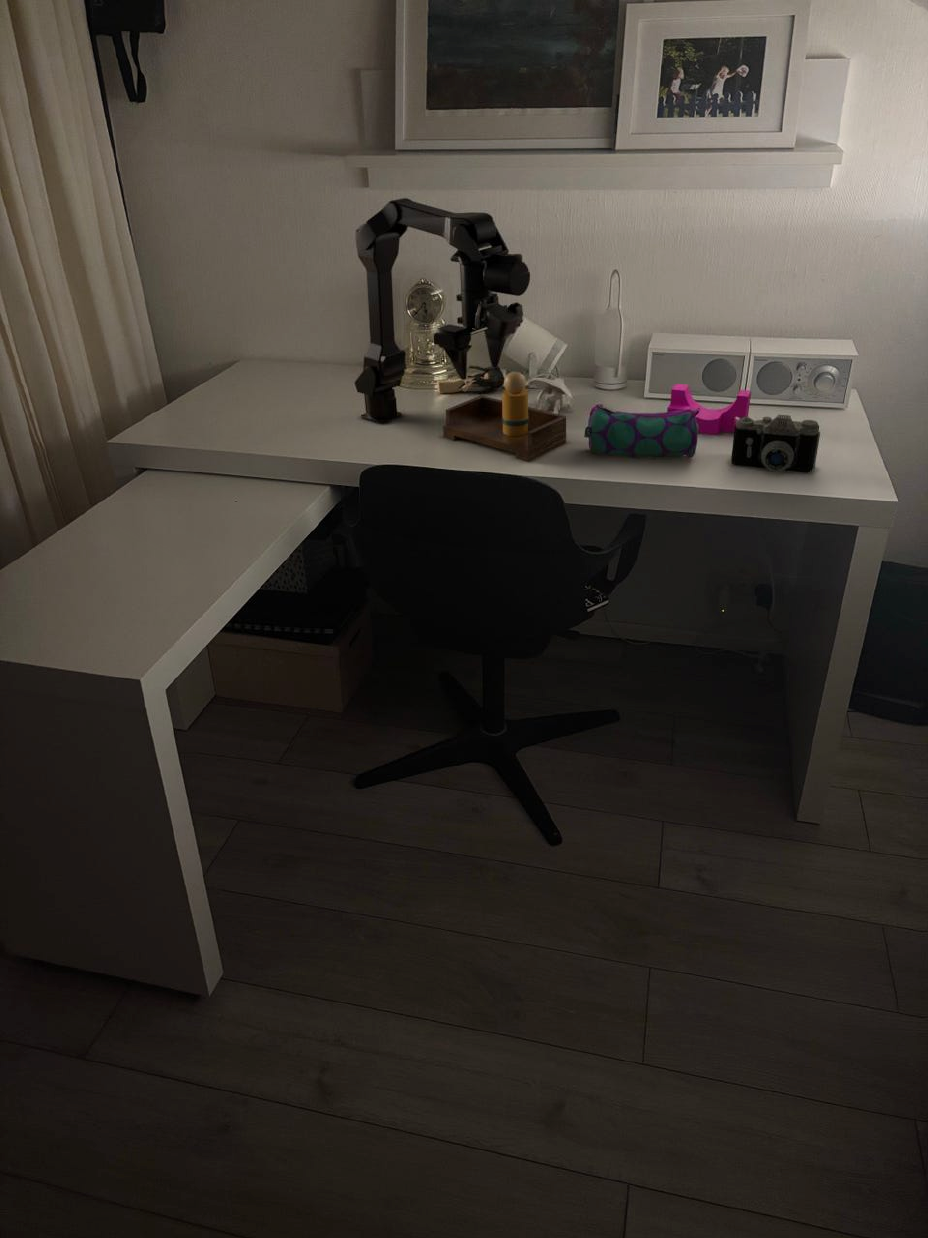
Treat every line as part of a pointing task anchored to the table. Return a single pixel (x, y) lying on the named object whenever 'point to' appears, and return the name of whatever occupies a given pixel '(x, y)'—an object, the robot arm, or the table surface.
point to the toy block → (710, 410)
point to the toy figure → (474, 381)
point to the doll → (515, 405)
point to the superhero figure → (551, 393)
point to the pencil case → (642, 433)
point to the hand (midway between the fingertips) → (479, 372)
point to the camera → (776, 444)
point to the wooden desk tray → (486, 427)
